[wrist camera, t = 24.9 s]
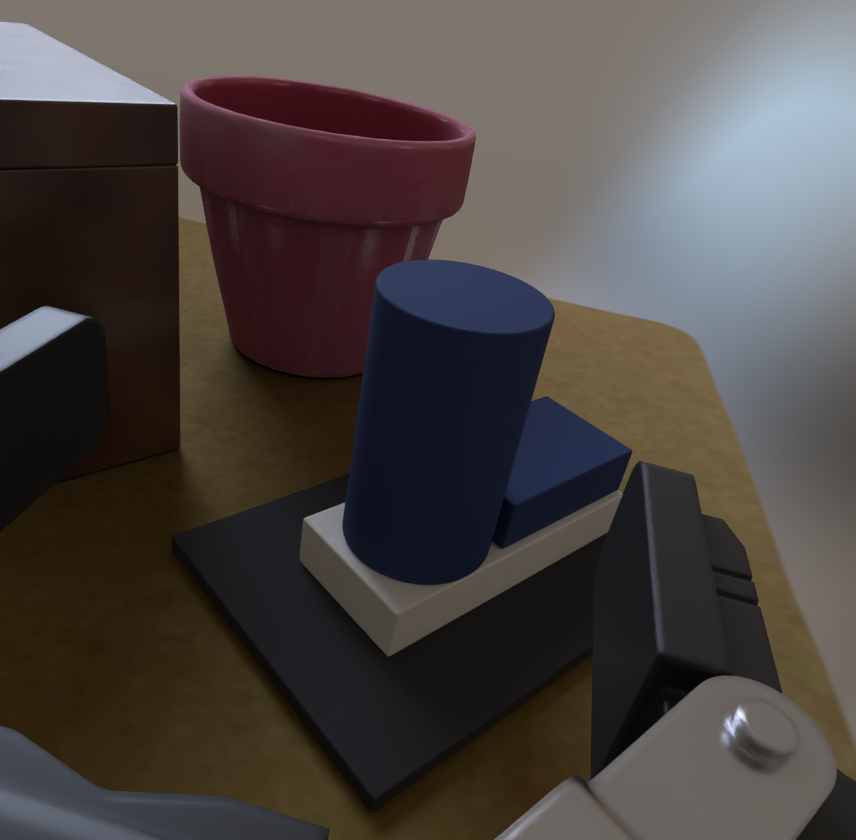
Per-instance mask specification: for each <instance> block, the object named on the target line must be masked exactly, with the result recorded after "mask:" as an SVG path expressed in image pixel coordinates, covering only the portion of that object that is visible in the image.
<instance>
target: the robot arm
mask: <svg viewBox="0 0 856 840" xmlns="http://www.w3.org/2000/svg"><path fill="white" fill-rule="evenodd" d="M109 415H110V401H109V383H108V366H107V349H106V335H105V330H104V327H103V325H102V323H101V322H100V321H99V320H98V319H96V318H93V317H89V316H85V315H81V314H77V313H74V312H70V311H66V310H62V309H58V308H54V307H50V306H44V307H40V308H38V309H36V310H35V311H33V312H31V313H29V314H27V315H25V316H24V317H22V318H20V319H18V320H16V321H15V322H13V323H11V324H9V325H7V326H5V327H4V328H2V329H0V532H1V531H2V530H3V529H4V528H5V527H6V526H8V525H9V524H10V523H11V522H12V521H13V520H14V519H15V518H17V517H18V516H19V515H20V514H21V513H22V512H23V511H24V510H26V509H27V508H28V507H29V506H30V505H31V504H32V503H33V502H35V501H36V500H37V499H38V498H39V497H40V496H41V495H42V494H44V493H45V492H46V491H47V490H48V489H49V488H50V487H52V486H53V485H54V484H55V483H56V482H57V481H58V480H59V479H61V478H62V477H63V476H64V475H65V474H66V473H67V472H68V471H70V470H71V469H72V468H73V467H74V466H75V465H76V464H77V463H79V462H80V461H81V460H82V459H83V458H84V457H85V456H86V455H88V454H89V453H90V452H91V451H92V450H93V449H94V448H95V447H96V446H97V445H98V444H99V442H100V441H101V439H102V437H103V435H104V433H105V431H106V428H107V425H108V421H109ZM751 579H752V573H751V569H750V566H749V562H748V558H747V554H746V550H745V547H744V546H743V545H742V544H741V542H740V541H739V540H738V538H737V537H736V536H735V534H734V533H733V532H732V530H731V529H730V528H729V526H728V525H727V524H726V523H725V521H724V520H723V519H719V518H715V517H711V516H708V515H704V514H701V508H700V503H699V498H698V493H697V487H696V482H695V478H694V476H693V475H692V474H688V473H684V472H680V471H676V470H673V469H669V468H665V467H661V466H657V465H653V464H650V463H646V462H642V461H639V462H638V463H637V464H636V465H635V467H634V468H633V470H632V472H631V475H630V477H629V480H628V482H627V485H626V487H625V490H624V492H623V495H622V497H621V500H620V503H619V505H618V508H617V510H616V513H615V515H614V518H613V520H612V523H611V525H610V528H609V530H608V533H607V535H606V538H605V541H604V543H603V546H602V549H601V552H600V556H599V559H598V563H597V568H596V573H595V580H594V605H593V667H592V730H591V780H590V781H589V782H587V783H586V782H585V781H584V780H583V779H582V778H581V777H580V776H573V777H570V778H569V779H567V780H565V781H564V782H562V783H561V784H559V785H558V786H557V787H556V788H554V789H553V790H552V791H551V792H549V793H548V794H547V795H546V796H545V797H544V798H542V799H541V800H540V801H539V802H538V803H537V804H535V805H534V806H533V807H532V808H531V809H530V810H528V811H527V812H526V813H525V814H524V815H523V816H521V817H520V818H519V819H518V820H517V821H516V822H514V823H513V824H512V825H511V826H510V827H509V828H507V829H506V830H505V831H504V832H503V833H502V834H500V835H499V836H498V837H497V838H496V839H495V840H856V781H854V780H852V779H851V778H849V777H848V776H846V775H845V774H843V773H842V772H841V771H839V770H838V769H837V768H836V762H835V758H834V754H833V751H832V749H831V747H830V745H829V742H828V741H827V739H826V737H825V736H824V734H823V733H822V731H821V730H820V728H819V727H818V726H817V725H816V723H815V722H814V721H813V720H812V719H811V718H810V717H809V715H808V714H807V713H806V712H805V711H804V710H803V709H801V708H800V707H799V706H798V705H797V704H795V703H794V702H793V701H792V700H790V699H789V698H787V697H786V696H784V695H783V694H782V690H781V686H780V682H779V678H778V674H777V670H776V667H775V663H774V659H773V655H772V651H771V647H770V643H769V639H768V636H767V632H766V628H765V624H764V620H763V616H762V612H761V608H760V607H759V606H757V604H758V597H757V593H756V589H755V585H754V582H751ZM329 830H330V829H329V828H325V827H322V826H319V825H316V824H313V823H309V822H306V821H303V820H300V819H297V818H294V817H290V816H287V815H284V814H281V813H278V812H274V811H271V810H268V809H265V808H262V807H258V806H255V805H252V804H249V803H246V802H242V801H239V800H236V799H233V798H230V797H226V796H212V795H190V794H169V793H147V792H125V791H111V790H106V789H103V788H100V787H98V786H96V785H94V784H93V783H91V782H90V781H88V780H87V779H85V778H84V777H83V776H81V775H80V774H78V773H77V772H75V771H74V770H72V769H71V768H70V767H68V766H67V765H65V764H64V763H62V762H61V761H60V760H58V759H57V758H55V757H54V756H52V755H51V754H49V753H48V752H47V751H45V750H44V749H42V748H41V747H39V746H38V745H37V744H35V743H34V742H32V741H31V740H29V739H28V738H27V737H25V736H24V735H22V734H21V733H19V732H18V731H16V730H13V729H9V728H6V727H3V726H0V840H328V836H329Z"/></svg>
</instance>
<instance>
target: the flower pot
mask: <svg viewBox="0 0 856 840" xmlns="http://www.w3.org/2000/svg"><path fill="white" fill-rule="evenodd" d="M475 140H476V137H475V133H474V131H473V130H472V128H470V127H469V126H468V125H466V124H465V123H463V122H461V121H459V120H457V119H455V118H453V117H450V116H448V115H445V114H442V113H440V112H437V111H434V110H431V109H428V108H424V107H421V106H418V105H414V104H411V103H407V102H403V101H399V100H396V99H391V98H387V97H383V96H379V95H375V94H370V93H366V92H361V91H357V90H352V89H347V88H341V87H335V86H329V85H323V84H317V83H310V82H303V81H297V80H289V79H280V78H268V77H267V78H266V77H255V76H217V77H205V78H200V79H196V80H192V81H190V82H188V83H187V84H185V85H184V86H183V87H182V89H181V93H180V162H181V167H182V169H183V171H184V173H185V174H186V175H187V176H188V177H189V178H190V179H191V180H192V181H193V182H194V183H196V184H197V185H198V186H200V191H201V196H202V201H203V207H204V213H205V218H206V224H207V230H208V235H209V240H210V245H211V250H212V255H213V260H214V265H215V269H216V274H217V278H218V283H219V287H220V291H221V296H222V300H223V304H224V308H225V312H226V317H227V322H228V327H229V332H230V336H231V339H232V341H233V343H234V345H235V346H236V347H237V348H238V349H239V350H240V351H241V352H242V353H243V354H244V355H245V356H247V357H248V358H250V359H252V360H254V361H255V362H257V363H259V364H262V365H264V366H266V367H269V368H271V369H274V370H278V371H282V372H286V373H290V374H295V375H301V376H309V377H323V378H324V377H346V376H352V375H357V374H361V373H363V371H364V364H365V356H366V349H367V342H368V335H369V328H370V321H371V313H372V306H373V299H374V292H375V285H376V279H377V277H378V275H379V274H380V273H381V272H382V271H383V270H384V269H386V268H387V267H389V266H392V265H394V264H397V263H401V262H406V261H414V260H428V257H429V255H430V252H431V249H432V247H433V243H434V241H435V238H436V236H437V233H438V230H439V228H440V225H441V222H442V220H443V219H445V218H448V217H450V216H452V215H454V214H455V213H456V212H457V211H459V210H460V208H461V207H462V204H463V201H464V197H465V192H466V187H467V183H468V178H469V173H470V168H471V162H472V157H473V152H474V146H475Z"/></svg>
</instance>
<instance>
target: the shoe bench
mask: <svg viewBox="0 0 856 840" xmlns="http://www.w3.org/2000/svg"><path fill="white" fill-rule="evenodd" d="M177 121H178V118H177V105H176V104H175V103H173V102H171V101H169V100H167V99H165V98H164V97H162V96H160V95H158V94H156V93H154V92H152V91H151V90H149V89H147V88H145V87H143V86H141V85H139V84H137V83H136V82H134V81H132V80H130V79H128V78H126V77H124V76H122V75H121V74H119V73H117V72H115V71H113V70H111V69H110V68H108V67H106V66H104V65H102V64H100V63H98V62H96V61H94V60H93V59H91V58H89V57H87V56H85V55H83V54H82V53H80V52H78V51H76V50H74V49H72V48H70V47H69V46H67V45H65V44H63V43H61V42H59V41H57V40H55V39H53V38H52V37H50V36H48V35H46V34H44V33H42V32H41V31H39V30H37V29H35V28H33V27H31V26H29V25H27V24H22V23H10V22H0V329H2V328H4V327H5V326H7V325H9V324H11V323H13V322H15V321H16V320H18V319H20V318H22V317H24V316H25V315H27V314H29V313H31V312H33V311H35V310H36V309H38V308H40V307H44V306H50V307H54V308H58V309H62V310H66V311H70V312H74V313H77V314H81V315H85V316H89V317H93V318H96V319H98V320H99V321H100V322H101V323H102V325H103V327H104V330H105V335H106V349H107V366H108V383H109V401H110V415H109V421H108V425H107V428H106V431H105V433H104V435H103V437H102V439H101V441H100V442H99V444H98V445H97V446H96V447H95V448H94V449H93V450H92V451H91V452H90V453H89V454H88V455H86V456H85V457H84V458H83V459H82V460H81V461H80V462H79V463H77V464H76V465H75V466H74V467H73V468H72V469H71V470H70V471H68V472H67V473H66V474H65V475H64V476H63V477H62V478H61V479H59V480H58V481H57V482H59V481H63V480H67V479H70V478H74V477H78V476H81V475H85V474H88V473H92V472H96V471H99V470H103V469H106V468H110V467H114V466H117V465H121V464H125V463H128V462H132V461H135V460H139V459H143V458H146V457H150V456H153V455H157V454H161V453H164V452H168V451H172V450H175V449H179V448H180V350H179V229H178V166H177V165H176V164H177V163H178V128H177V127H178V123H177Z"/></svg>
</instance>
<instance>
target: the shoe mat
mask: <svg viewBox="0 0 856 840" xmlns="http://www.w3.org/2000/svg"><path fill="white" fill-rule="evenodd" d="M348 478H349V474H348V475H345V476H342V477H340V478H337V479H334V480H331V481H328V482H325V483H323V484H320V485H317V486H314V487H311V488H308V489H306V490H303V491H300V492H297V493H294V494H291V495H289V496H286V497H283V498H280V499H277V500H274V501H272V502H269V503H266V504H263V505H260V506H257V507H254V508H252V509H249V510H246V511H243V512H240V513H237V514H235V515H232V516H229V517H226V518H223V519H220V520H218V521H215V522H212V523H209V524H206V525H203V526H201V527H198V528H195V529H192V530H189V531H186V532H184V533H181V534H178V535H175V536H173V537H172V548H173V550H174V551H175V552H176V554H177V555H178V556H179V558H180V559H181V560H182V562H183V563H184V564H185V566H186V567H187V568H188V570H189V571H190V572H191V574H192V575H193V576H194V578H195V579H196V580H197V582H198V583H199V584H200V585H201V587H202V588H203V589H204V591H205V592H206V593H207V595H208V596H209V597H210V599H211V600H212V601H213V603H214V604H215V605H216V607H217V608H218V609H219V611H220V612H221V613H222V615H223V616H224V617H225V618H226V620H227V621H228V622H229V624H230V625H231V626H232V628H233V629H234V630H235V632H236V633H237V634H238V636H239V637H240V638H241V640H242V641H243V642H244V644H245V645H246V646H247V648H248V649H249V650H250V651H251V653H252V654H253V655H254V657H255V658H256V659H257V661H258V662H259V663H260V665H261V666H262V667H263V669H264V670H265V671H266V673H267V674H268V675H269V677H270V678H271V679H272V681H273V682H274V683H275V684H276V686H277V687H278V688H279V690H280V691H281V692H282V694H283V695H284V696H285V698H286V699H287V700H288V702H289V703H290V704H291V706H292V707H293V708H294V710H295V711H296V712H297V714H298V715H299V716H300V718H301V719H302V720H303V721H304V723H305V724H306V725H307V727H308V728H309V729H310V731H311V732H312V733H313V735H314V736H315V737H316V739H317V740H318V741H319V743H320V744H321V745H322V747H323V748H324V749H325V751H326V752H327V753H328V754H329V756H330V757H331V758H332V760H333V761H334V762H335V764H336V765H337V766H338V768H339V769H340V770H341V772H342V773H343V774H344V776H345V777H346V778H347V780H348V781H349V782H350V784H351V785H352V786H353V787H354V789H355V790H356V791H357V793H358V794H359V795H360V797H361V798H362V799H363V801H364V802H365V803H366V805H367V806H368V807H369V809H370V810H371V811H374V810H375V809H377V808H378V807H380V806H381V805H382V804H384V803H385V802H386V801H388V800H389V799H391V798H392V797H393V796H395V795H396V794H398V793H399V792H400V791H402V790H403V789H404V788H406V787H407V786H409V785H410V784H411V783H413V782H414V781H416V780H417V779H418V778H420V777H421V776H422V775H424V774H425V773H427V772H428V771H429V770H431V769H432V768H434V767H435V766H436V765H438V764H439V763H440V762H442V761H443V760H445V759H446V758H447V757H449V756H450V755H452V754H453V753H454V752H456V751H457V750H459V749H460V748H461V747H463V746H464V745H465V744H467V743H468V742H470V741H471V740H472V739H474V738H475V737H477V736H478V735H479V734H481V733H482V732H483V731H485V730H486V729H488V728H489V727H490V726H492V725H493V724H495V723H496V722H497V721H499V720H500V719H501V718H503V717H504V716H506V715H507V714H508V713H510V712H511V711H513V710H514V709H515V708H517V707H518V706H519V705H521V704H522V703H524V702H525V701H526V700H528V699H529V698H531V697H532V696H533V695H535V694H536V693H537V692H539V691H540V690H542V689H543V688H544V687H546V686H547V685H549V684H550V683H551V682H553V681H554V680H555V679H557V678H558V677H560V676H561V675H562V674H564V673H565V672H567V671H568V670H569V669H571V668H572V667H574V666H575V665H576V664H578V663H579V662H580V661H582V660H583V659H585V658H586V657H587V656H589V655H590V654H592V653H593V605H594V580H595V573H596V568H597V563H598V559H599V556H600V552H601V549H602V546H603V543H604V541H605V538H606V535H607V533H608V532H607V533H606V534H604V535H602V536H600V537H599V538H597V539H595V540H593V541H592V542H590V543H588V544H586V545H585V546H583V547H581V548H579V549H577V550H576V551H574V552H572V553H570V554H569V555H567V556H565V557H563V558H562V559H560V560H558V561H556V562H555V563H553V564H551V565H549V566H548V567H546V568H544V569H542V570H541V571H539V572H537V573H535V574H534V575H532V576H530V577H528V578H527V579H525V580H523V581H521V582H519V583H518V584H516V585H514V586H512V587H511V588H509V589H507V590H505V591H504V592H502V593H500V594H498V595H497V596H495V597H493V598H491V599H490V600H488V601H486V602H484V603H483V604H481V605H479V606H477V607H476V608H474V609H472V610H470V611H469V612H467V613H465V614H463V615H462V616H460V617H458V618H456V619H454V620H453V621H451V622H449V623H447V624H446V625H444V626H442V627H440V628H439V629H437V630H435V631H433V632H432V633H430V634H428V635H426V636H425V637H423V638H421V639H419V640H418V641H416V642H414V643H412V644H411V645H409V646H407V647H405V648H404V649H402V650H400V651H398V652H396V653H395V654H393V655H391V656H389V657H388V656H387V655H386V654H385V653H384V652H383V651H382V650H381V649H380V648H379V647H378V646H377V644H376V643H375V642H374V641H373V640H372V639H371V638H370V637H369V636H368V635H367V633H366V632H365V631H364V630H363V629H362V628H361V627H360V626H359V625H358V624H357V623H356V621H355V620H354V619H353V618H352V617H351V616H350V615H349V614H348V613H347V612H346V611H345V609H344V608H343V607H342V606H341V605H340V604H339V603H338V602H337V601H336V600H335V599H334V597H333V596H332V595H331V594H330V593H329V592H328V591H327V590H326V589H325V588H324V587H323V585H322V584H321V583H320V582H319V581H318V580H317V579H316V578H315V577H314V576H313V575H312V573H311V572H310V571H309V570H308V569H307V568H306V567H305V566H304V565H303V564H302V563H301V561H300V559H299V558H300V548H301V539H302V529H303V520H304V518H306V517H308V516H311V515H314V514H316V513H319V512H321V511H324V510H327V509H329V508H332V507H335V506H337V505H340V504H342V503H345V500H346V493H347V486H348Z"/></svg>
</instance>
